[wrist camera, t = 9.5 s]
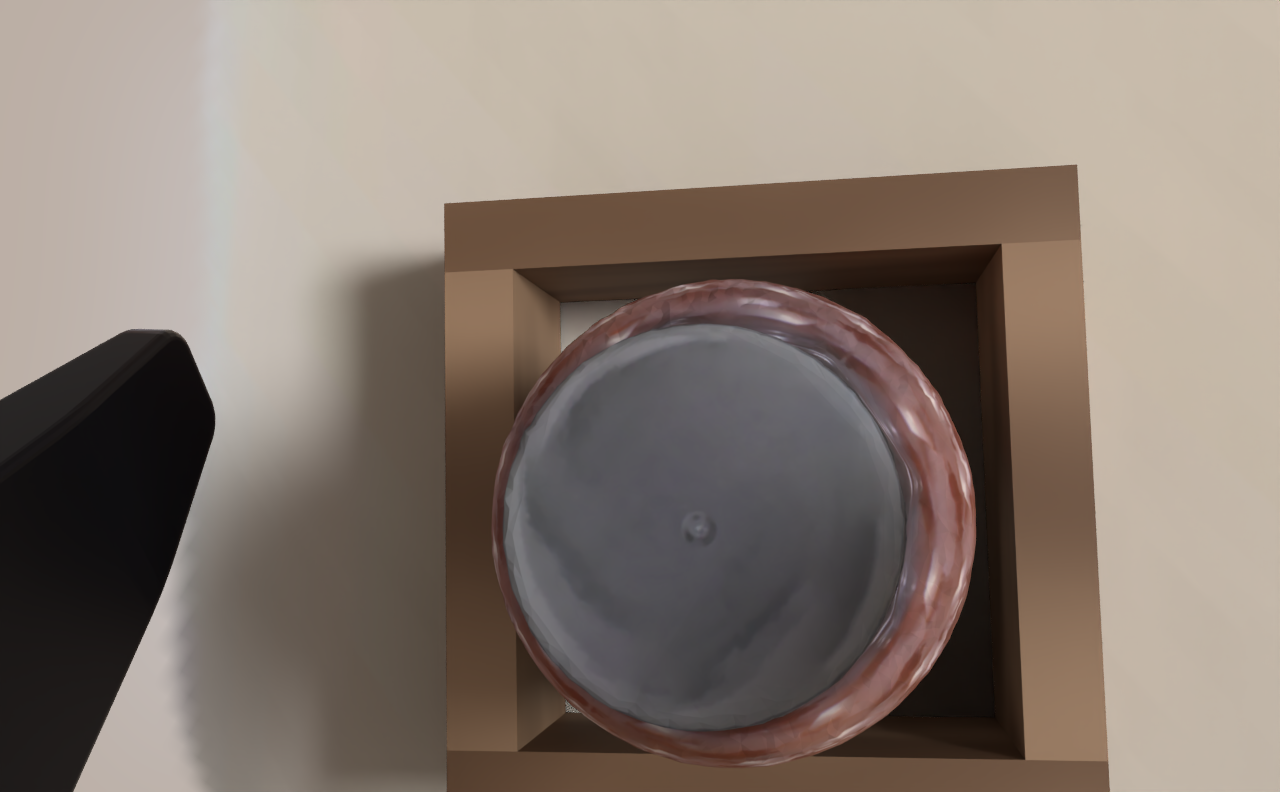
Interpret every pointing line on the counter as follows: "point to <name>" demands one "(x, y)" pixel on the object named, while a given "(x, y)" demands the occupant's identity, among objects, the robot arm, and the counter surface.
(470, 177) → the counter surface
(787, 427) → the supplement bottle
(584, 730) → the socket collar
